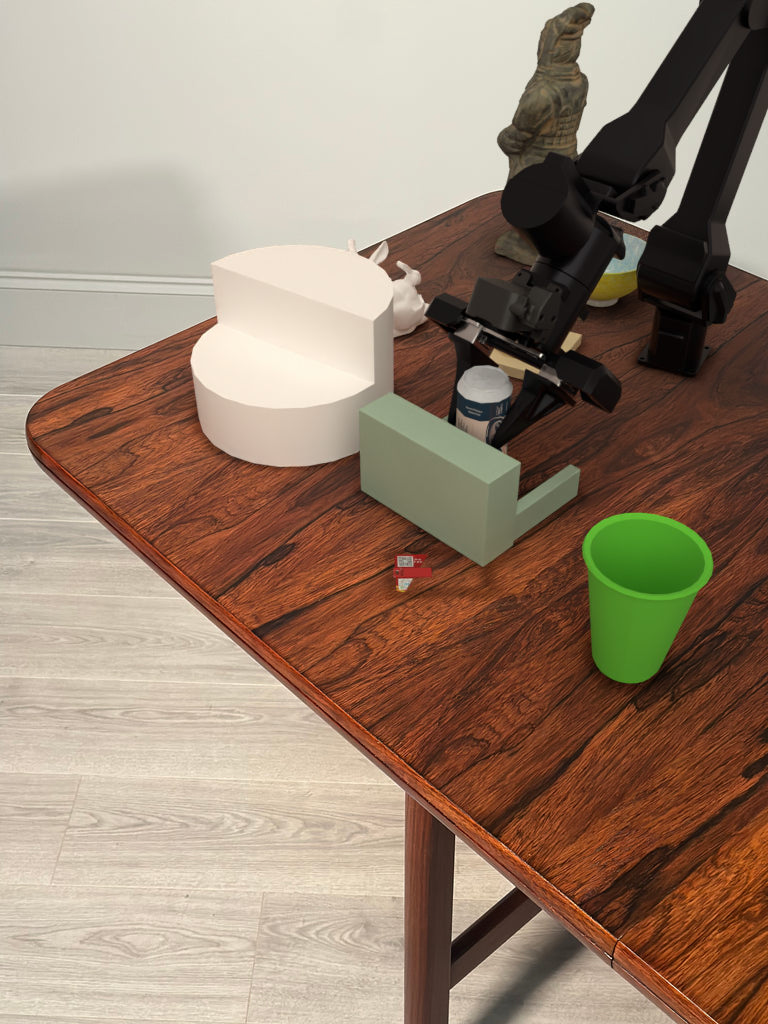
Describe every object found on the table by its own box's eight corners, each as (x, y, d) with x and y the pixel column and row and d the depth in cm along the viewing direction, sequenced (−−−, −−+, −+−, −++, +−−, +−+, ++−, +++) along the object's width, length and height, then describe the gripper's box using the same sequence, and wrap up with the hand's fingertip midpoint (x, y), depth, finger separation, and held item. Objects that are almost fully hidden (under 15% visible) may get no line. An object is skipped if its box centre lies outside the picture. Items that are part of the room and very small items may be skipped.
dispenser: (458, 430, 104) (462, 352, 98) (580, 496, 96) (591, 415, 90) (360, 490, 97) (358, 409, 91) (482, 567, 88) (488, 483, 83)
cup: (692, 632, 82) (719, 526, 75) (678, 718, 76) (706, 610, 69) (578, 606, 85) (595, 501, 78) (555, 687, 78) (571, 580, 71)
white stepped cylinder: (157, 421, 105) (136, 303, 97) (284, 339, 118) (276, 228, 109) (311, 492, 96) (303, 369, 88) (431, 395, 109) (434, 278, 100)
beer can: (501, 506, 95) (510, 395, 87) (449, 500, 95) (453, 389, 88) (507, 474, 98) (516, 365, 91) (457, 469, 99) (462, 360, 91)
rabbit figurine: (334, 347, 116) (330, 268, 110) (321, 315, 122) (317, 237, 116) (437, 334, 118) (440, 255, 112) (420, 303, 124) (422, 226, 118)
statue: (528, 227, 140) (550, -17, 121) (586, 248, 135) (618, -3, 116) (475, 254, 134) (488, 2, 115) (533, 277, 129) (558, 17, 110)
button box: (499, 322, 120) (500, 299, 119) (580, 343, 117) (583, 320, 115) (461, 363, 114) (462, 338, 112) (546, 386, 110) (549, 362, 108)
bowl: (530, 294, 126) (534, 246, 122) (598, 267, 131) (604, 221, 127) (598, 332, 119) (605, 282, 115) (667, 302, 124) (675, 254, 120)
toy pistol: (393, 593, 86) (392, 552, 90) (393, 596, 86) (392, 556, 90) (489, 592, 86) (483, 551, 90) (488, 595, 86) (483, 555, 90)
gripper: (440, 205, 89) (350, 365, 90) (621, 276, 79) (516, 455, 80) (495, 260, 98) (412, 405, 100) (663, 330, 88) (569, 490, 89)
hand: (471, 435), depth 92 cm, fingers closed on beer can, 5 cm apart
